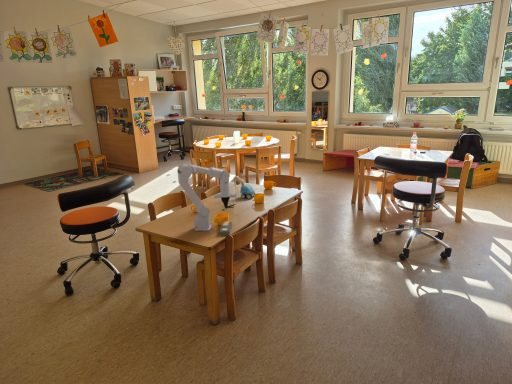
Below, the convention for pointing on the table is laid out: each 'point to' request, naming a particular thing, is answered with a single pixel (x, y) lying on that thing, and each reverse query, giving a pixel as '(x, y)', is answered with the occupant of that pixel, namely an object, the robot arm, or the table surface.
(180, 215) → the table surface
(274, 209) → the table surface
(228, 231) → the grey button panel
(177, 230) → the table surface
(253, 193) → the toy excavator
